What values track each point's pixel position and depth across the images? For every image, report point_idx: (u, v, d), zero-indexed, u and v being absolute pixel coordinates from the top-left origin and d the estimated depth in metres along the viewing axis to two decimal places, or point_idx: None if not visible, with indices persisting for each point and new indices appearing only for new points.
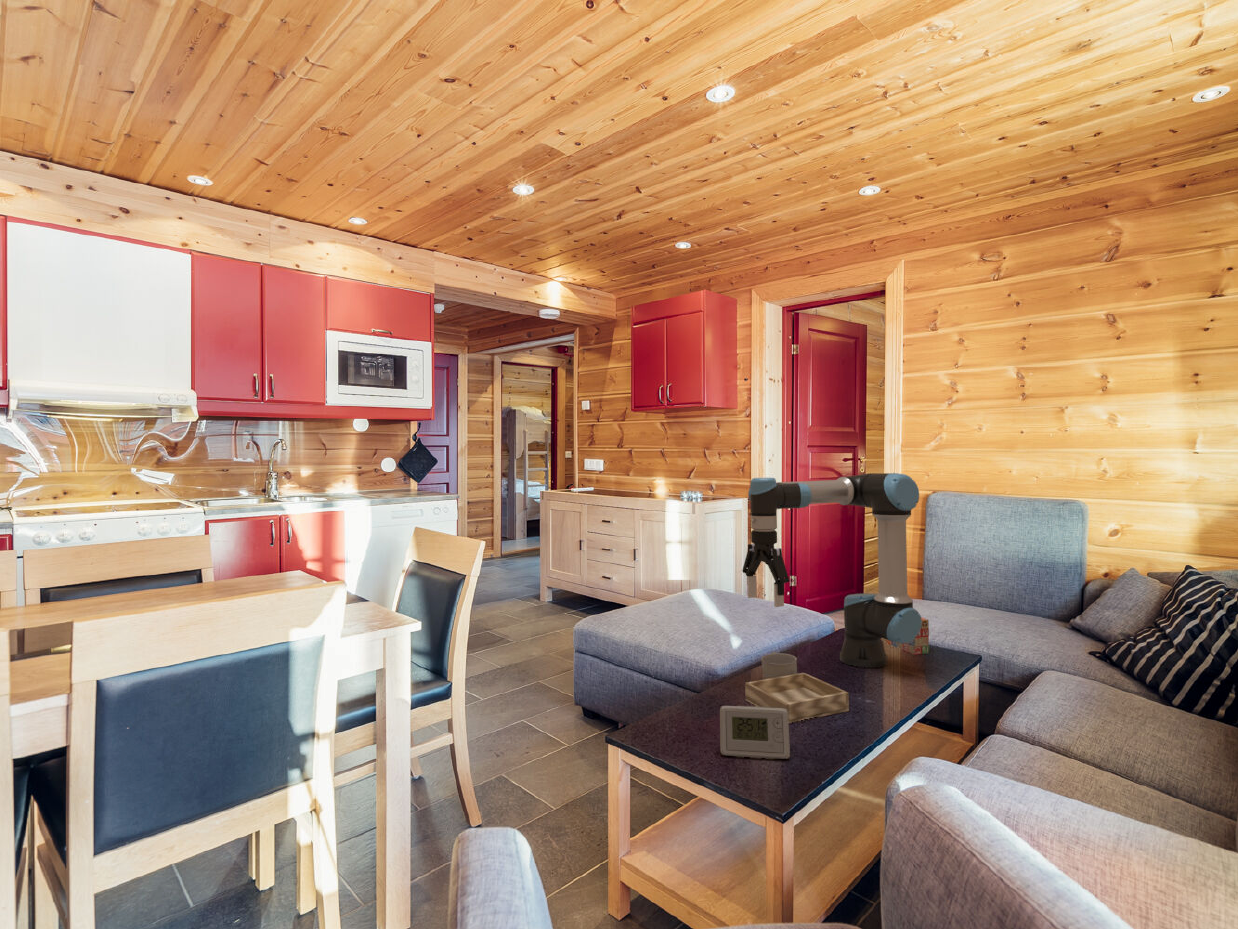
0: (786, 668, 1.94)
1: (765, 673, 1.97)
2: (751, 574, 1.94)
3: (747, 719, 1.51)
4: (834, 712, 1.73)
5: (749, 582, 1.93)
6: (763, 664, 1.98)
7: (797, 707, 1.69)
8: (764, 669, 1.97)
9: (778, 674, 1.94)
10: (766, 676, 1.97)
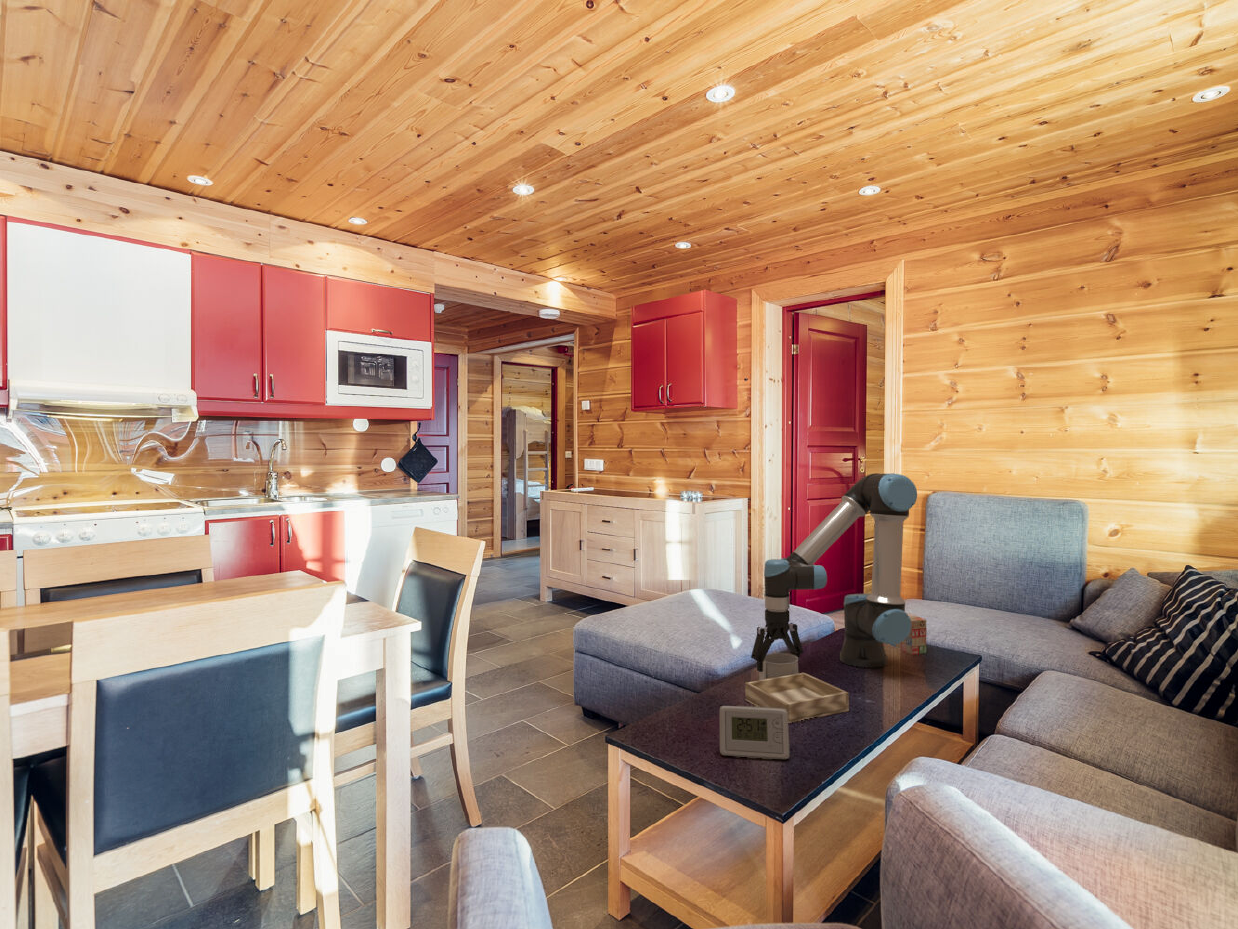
0: (787, 668, 1.94)
1: (766, 673, 1.97)
2: (793, 654, 2.02)
3: (747, 719, 1.50)
4: (834, 712, 1.73)
5: None
6: None
7: (797, 707, 1.69)
8: None
9: (779, 674, 1.94)
10: (767, 676, 1.97)
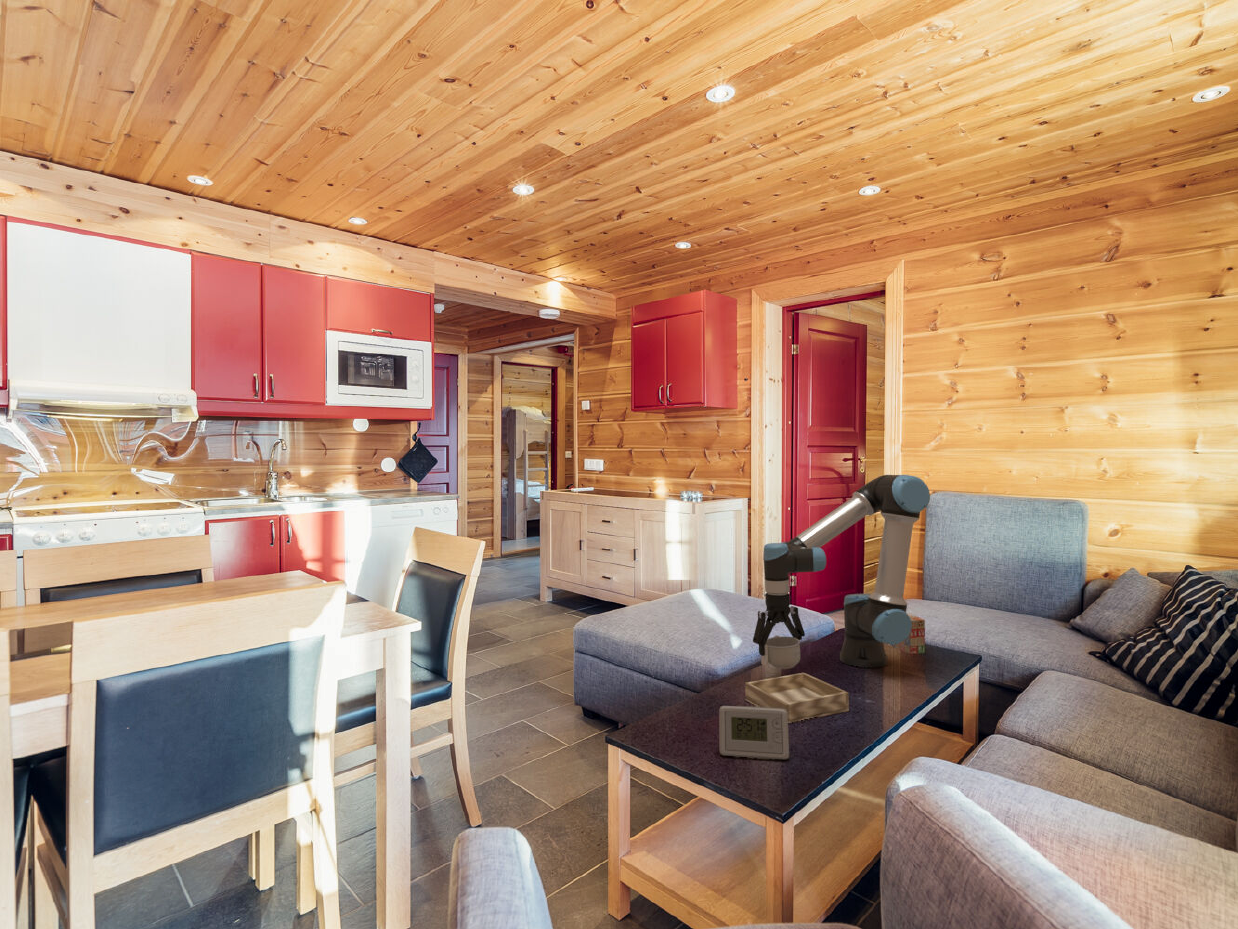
0: (789, 651, 1.94)
1: (769, 656, 1.97)
2: (795, 637, 2.03)
3: (746, 719, 1.50)
4: (834, 712, 1.73)
5: None
6: None
7: (797, 707, 1.69)
8: None
9: (781, 657, 1.94)
10: (770, 659, 1.97)
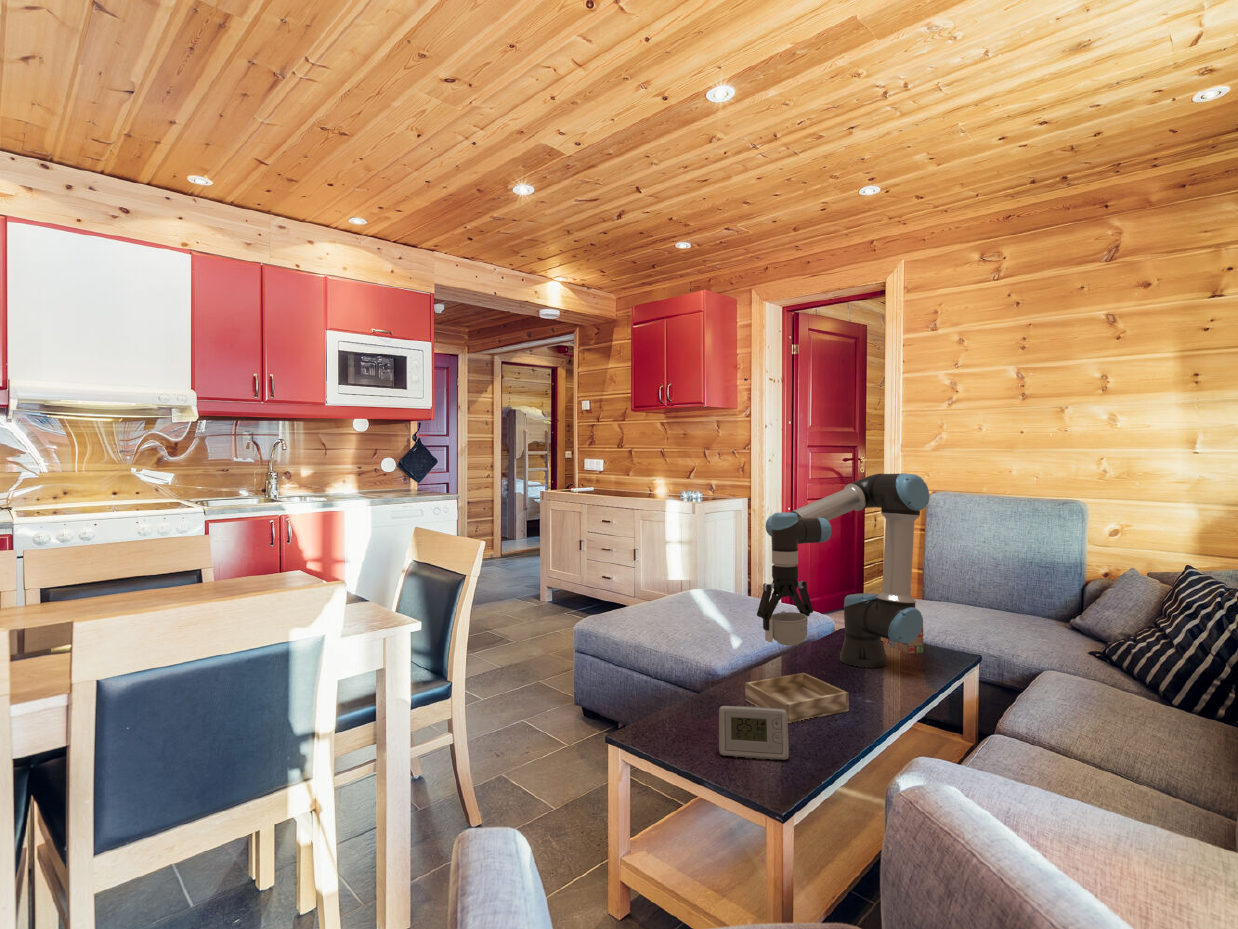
0: (795, 626, 1.82)
1: (773, 631, 1.85)
2: (802, 613, 1.90)
3: (746, 720, 1.50)
4: (834, 712, 1.73)
5: None
6: None
7: (797, 707, 1.69)
8: None
9: (787, 632, 1.82)
10: (774, 635, 1.85)
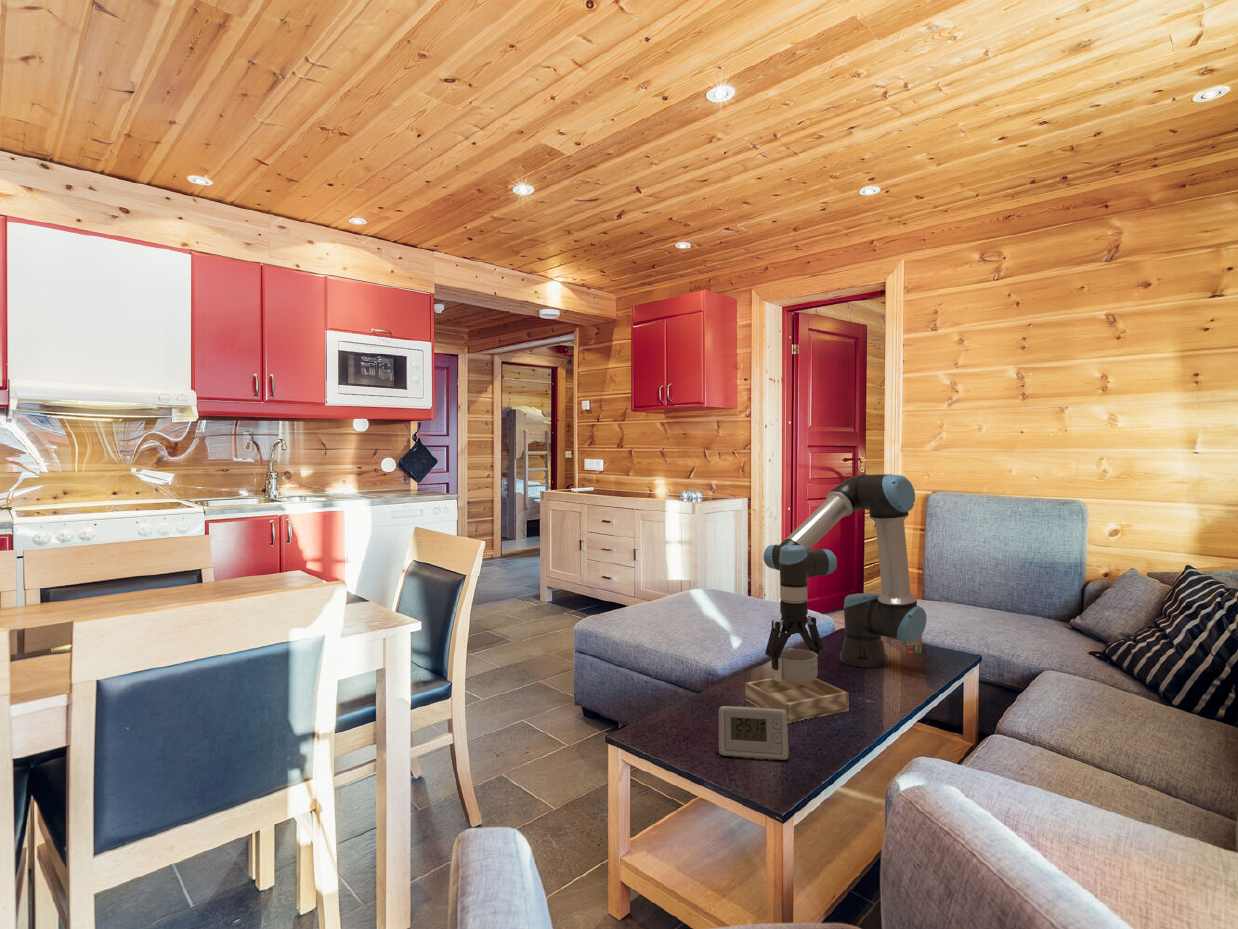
0: (806, 665, 1.74)
1: (782, 671, 1.77)
2: (812, 650, 1.82)
3: (746, 720, 1.50)
4: (834, 712, 1.73)
5: None
6: None
7: (797, 707, 1.69)
8: None
9: (797, 672, 1.74)
10: (783, 674, 1.77)
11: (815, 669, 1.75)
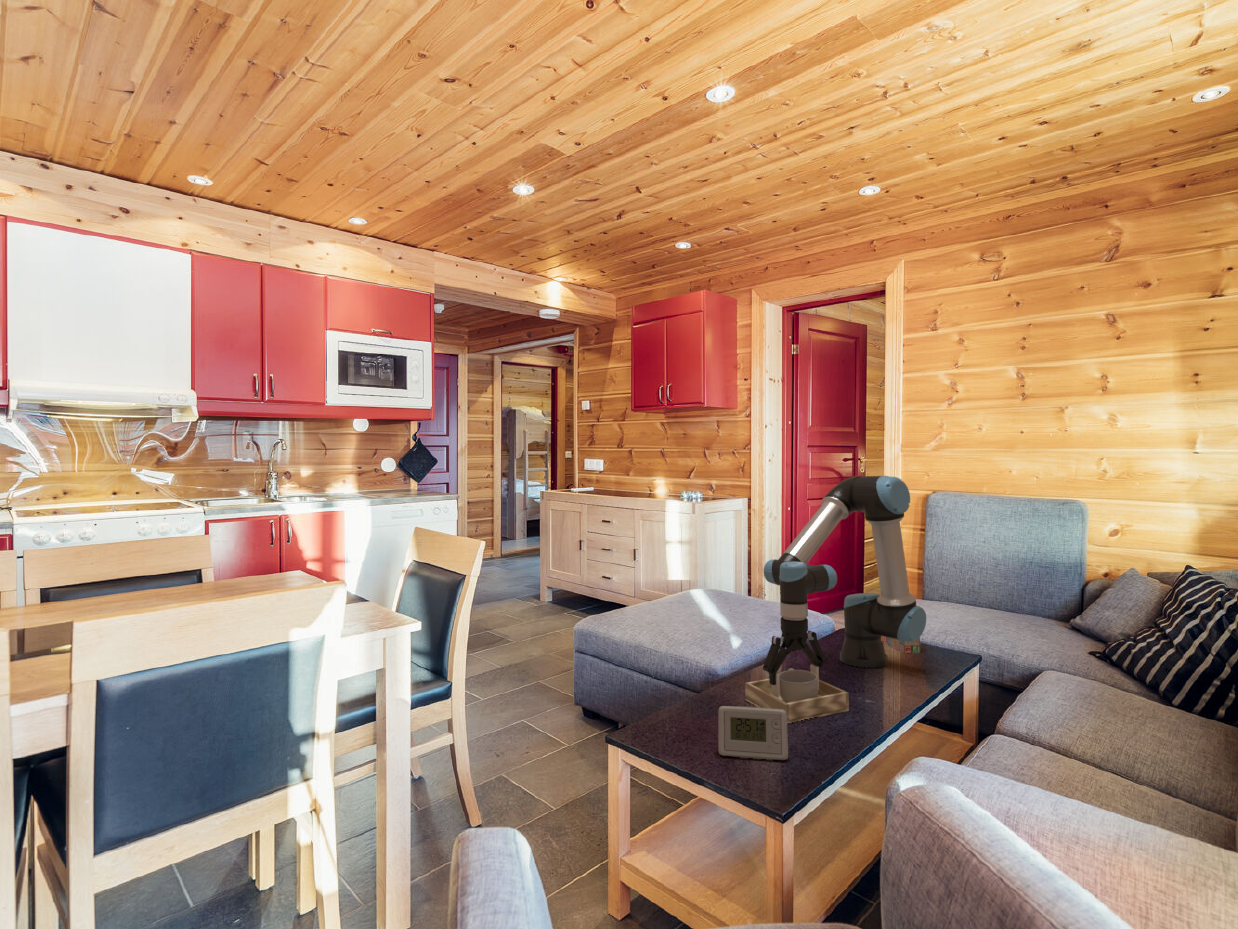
0: (806, 687, 1.74)
1: (782, 692, 1.77)
2: (815, 664, 1.83)
3: (745, 720, 1.50)
4: (834, 712, 1.73)
5: (811, 671, 1.84)
6: (780, 682, 1.78)
7: (797, 707, 1.69)
8: (781, 688, 1.77)
9: (797, 694, 1.74)
10: (783, 696, 1.77)
11: (815, 691, 1.75)
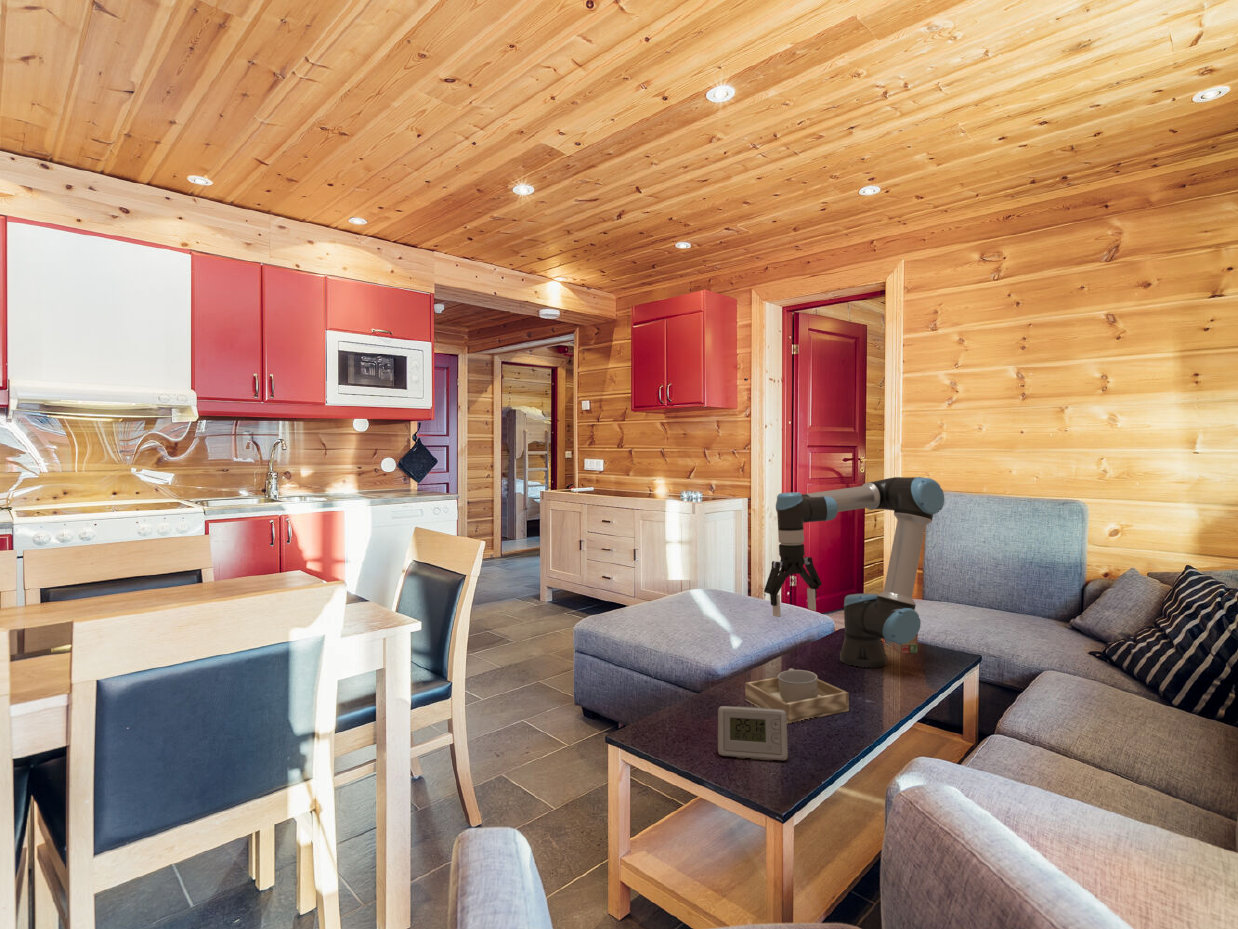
0: (806, 687, 1.74)
1: (782, 692, 1.77)
2: (811, 587, 1.97)
3: (745, 720, 1.50)
4: (834, 712, 1.73)
5: (808, 593, 1.97)
6: (780, 682, 1.78)
7: (797, 707, 1.69)
8: (781, 688, 1.77)
9: (797, 694, 1.74)
10: (783, 696, 1.77)
11: (815, 691, 1.75)
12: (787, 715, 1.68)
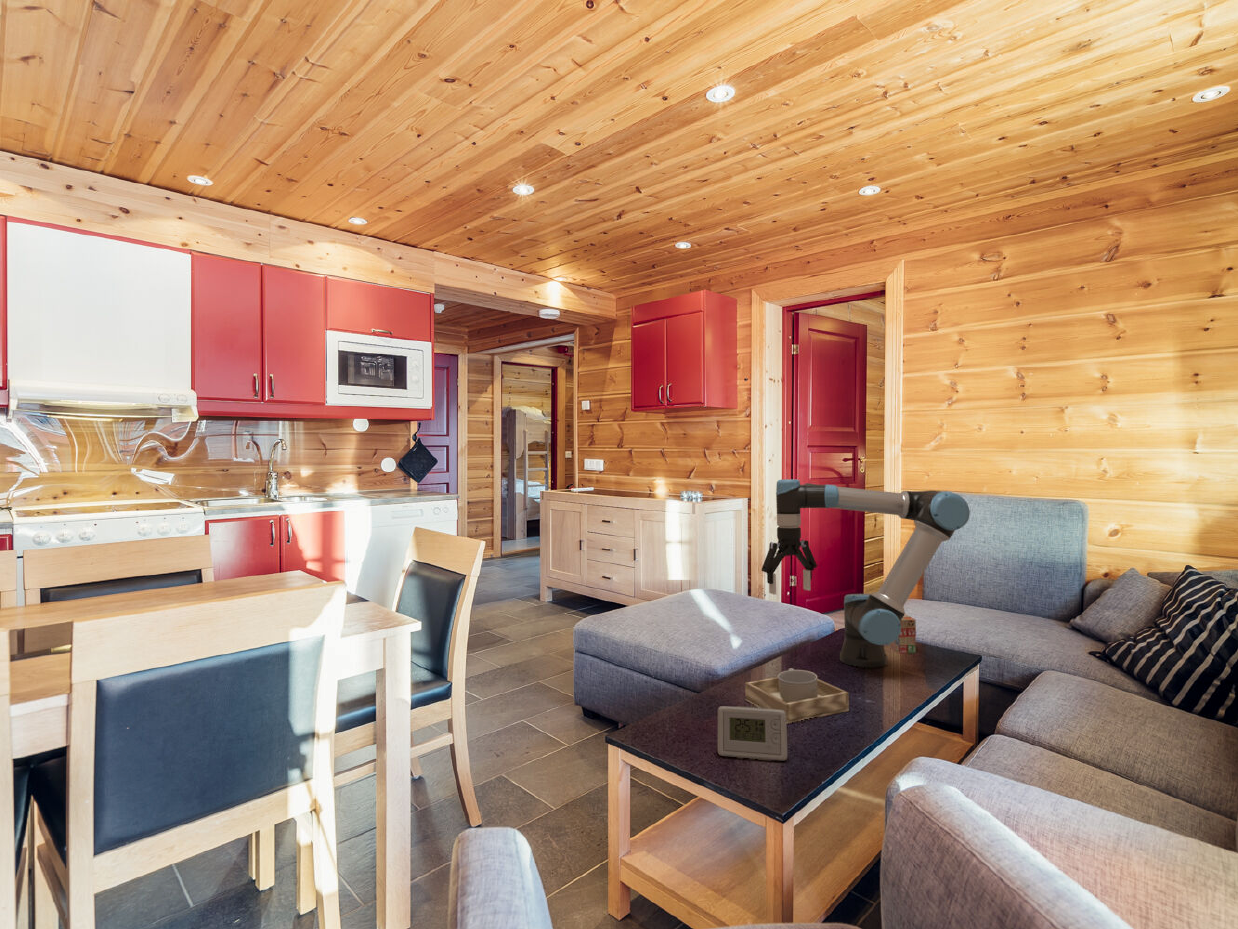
0: (806, 687, 1.74)
1: (782, 692, 1.77)
2: (807, 568, 2.10)
3: (745, 720, 1.50)
4: (834, 712, 1.73)
5: (803, 575, 2.11)
6: (780, 682, 1.78)
7: (797, 707, 1.69)
8: (781, 688, 1.77)
9: (797, 694, 1.74)
10: (783, 696, 1.77)
11: (815, 691, 1.75)
12: (787, 715, 1.68)
